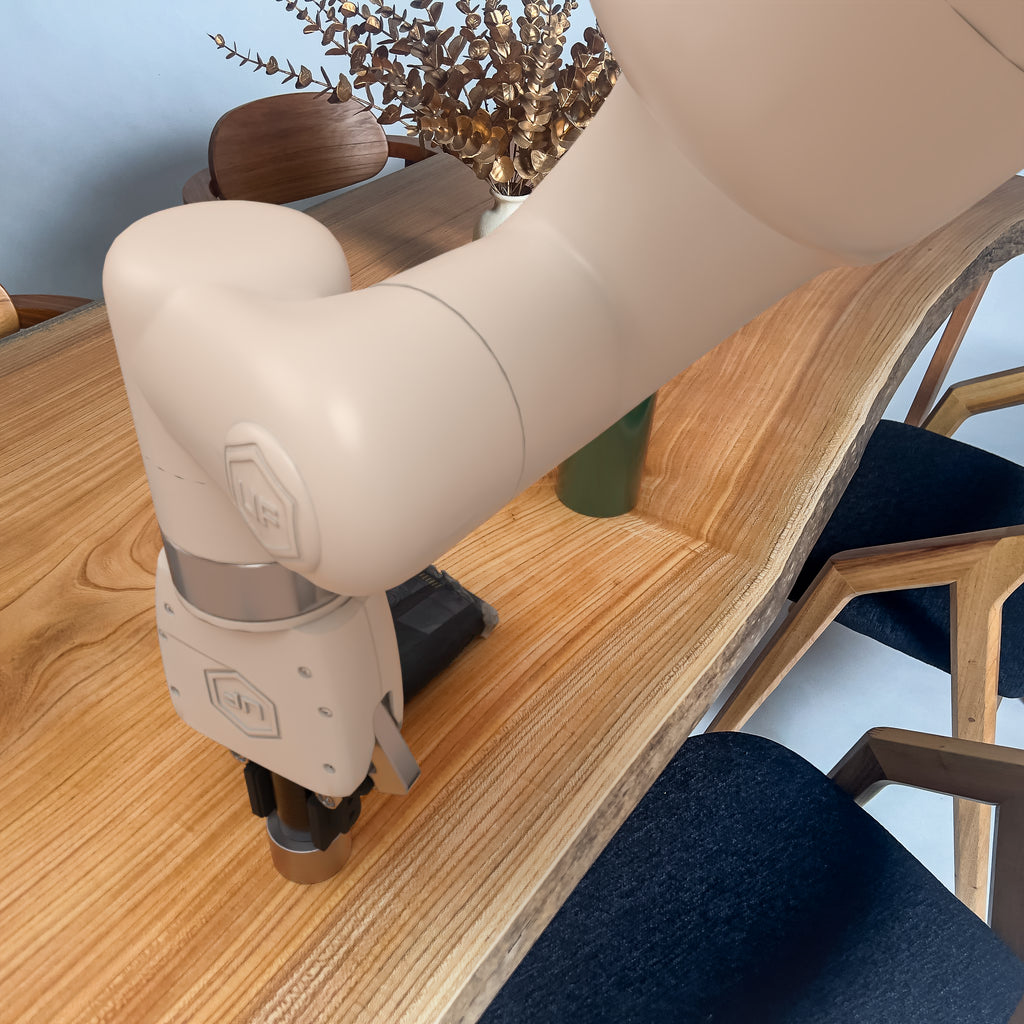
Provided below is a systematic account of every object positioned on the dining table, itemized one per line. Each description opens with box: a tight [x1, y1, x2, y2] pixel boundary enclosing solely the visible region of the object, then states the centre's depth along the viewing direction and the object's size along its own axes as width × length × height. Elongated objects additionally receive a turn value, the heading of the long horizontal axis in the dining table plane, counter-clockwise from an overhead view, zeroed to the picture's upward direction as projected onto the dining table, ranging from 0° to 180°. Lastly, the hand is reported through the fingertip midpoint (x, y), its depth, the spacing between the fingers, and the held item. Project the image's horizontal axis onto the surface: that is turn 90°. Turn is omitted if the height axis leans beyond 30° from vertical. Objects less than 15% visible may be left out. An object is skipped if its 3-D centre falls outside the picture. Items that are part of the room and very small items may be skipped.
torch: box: [265, 769, 353, 885], centre depth 46 cm, size 4×4×9 cm
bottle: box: [554, 389, 660, 518], centre depth 70 cm, size 7×7×17 cm
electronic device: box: [385, 563, 501, 707], centre depth 58 cm, size 9×6×15 cm
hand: (306, 808), depth 46 cm, fingers closed on torch, 3 cm apart
